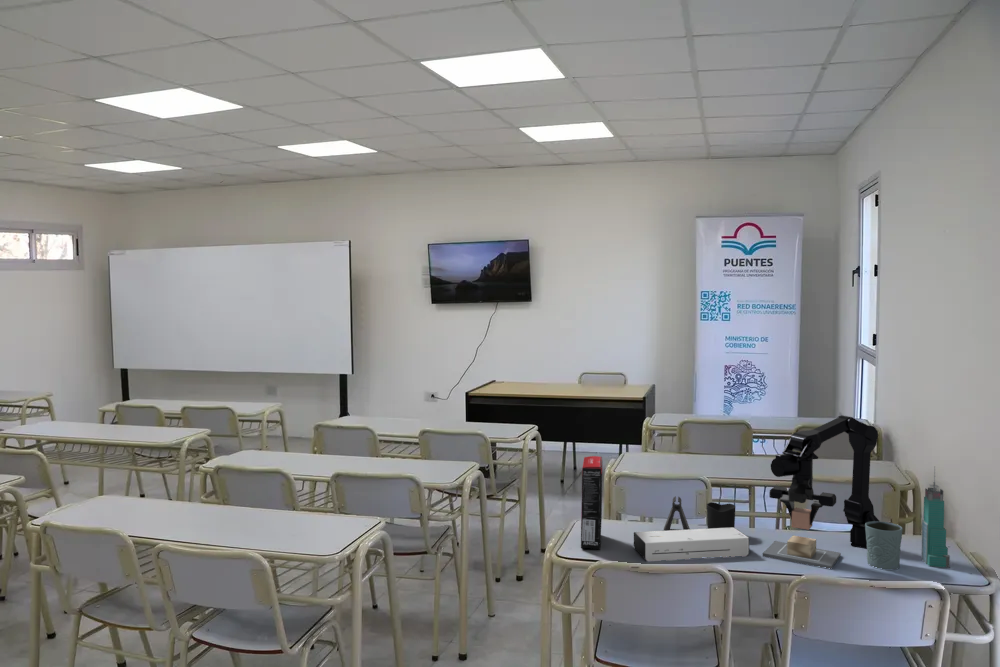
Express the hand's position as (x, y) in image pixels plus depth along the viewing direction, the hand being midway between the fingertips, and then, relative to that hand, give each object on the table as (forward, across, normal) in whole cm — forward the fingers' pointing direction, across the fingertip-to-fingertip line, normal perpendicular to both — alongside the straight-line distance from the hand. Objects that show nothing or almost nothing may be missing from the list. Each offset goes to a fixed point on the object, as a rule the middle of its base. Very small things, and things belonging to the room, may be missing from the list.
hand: (802, 523), depth 231 cm
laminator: (+11, -30, -16) cm, 36 cm away
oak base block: (+10, 0, 0) cm, 10 cm away
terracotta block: (+1, 0, 0) cm, 1 cm away
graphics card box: (+11, -61, -25) cm, 67 cm away
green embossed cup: (+11, +22, +6) cm, 25 cm away
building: (+11, +35, +16) cm, 40 cm away
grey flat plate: (+10, 0, 0) cm, 10 cm away
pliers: (+11, -41, 0) cm, 42 cm away
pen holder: (+11, -28, +7) cm, 31 cm away
